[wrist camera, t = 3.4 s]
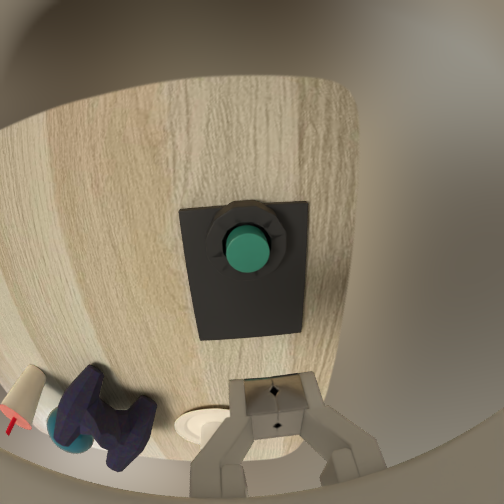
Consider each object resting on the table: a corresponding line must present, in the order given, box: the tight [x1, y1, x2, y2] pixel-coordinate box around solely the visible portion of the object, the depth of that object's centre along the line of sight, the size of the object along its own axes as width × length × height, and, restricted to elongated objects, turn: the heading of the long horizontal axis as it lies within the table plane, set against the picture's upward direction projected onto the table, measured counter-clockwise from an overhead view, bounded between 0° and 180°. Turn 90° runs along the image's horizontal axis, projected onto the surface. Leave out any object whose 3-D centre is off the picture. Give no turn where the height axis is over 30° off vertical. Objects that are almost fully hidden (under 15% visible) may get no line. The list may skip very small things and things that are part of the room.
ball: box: [47, 407, 94, 454], centre depth 29 cm, size 8×8×8 cm
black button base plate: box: [179, 200, 308, 341], centre depth 23 cm, size 13×10×2 cm
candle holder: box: [174, 408, 230, 450], centre depth 33 cm, size 12×12×4 cm
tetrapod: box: [53, 365, 157, 472], centre depth 26 cm, size 11×12×11 cm
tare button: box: [226, 225, 270, 273], centre depth 20 cm, size 3×3×2 cm
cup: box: [0, 365, 46, 435], centre depth 24 cm, size 5×5×12 cm
